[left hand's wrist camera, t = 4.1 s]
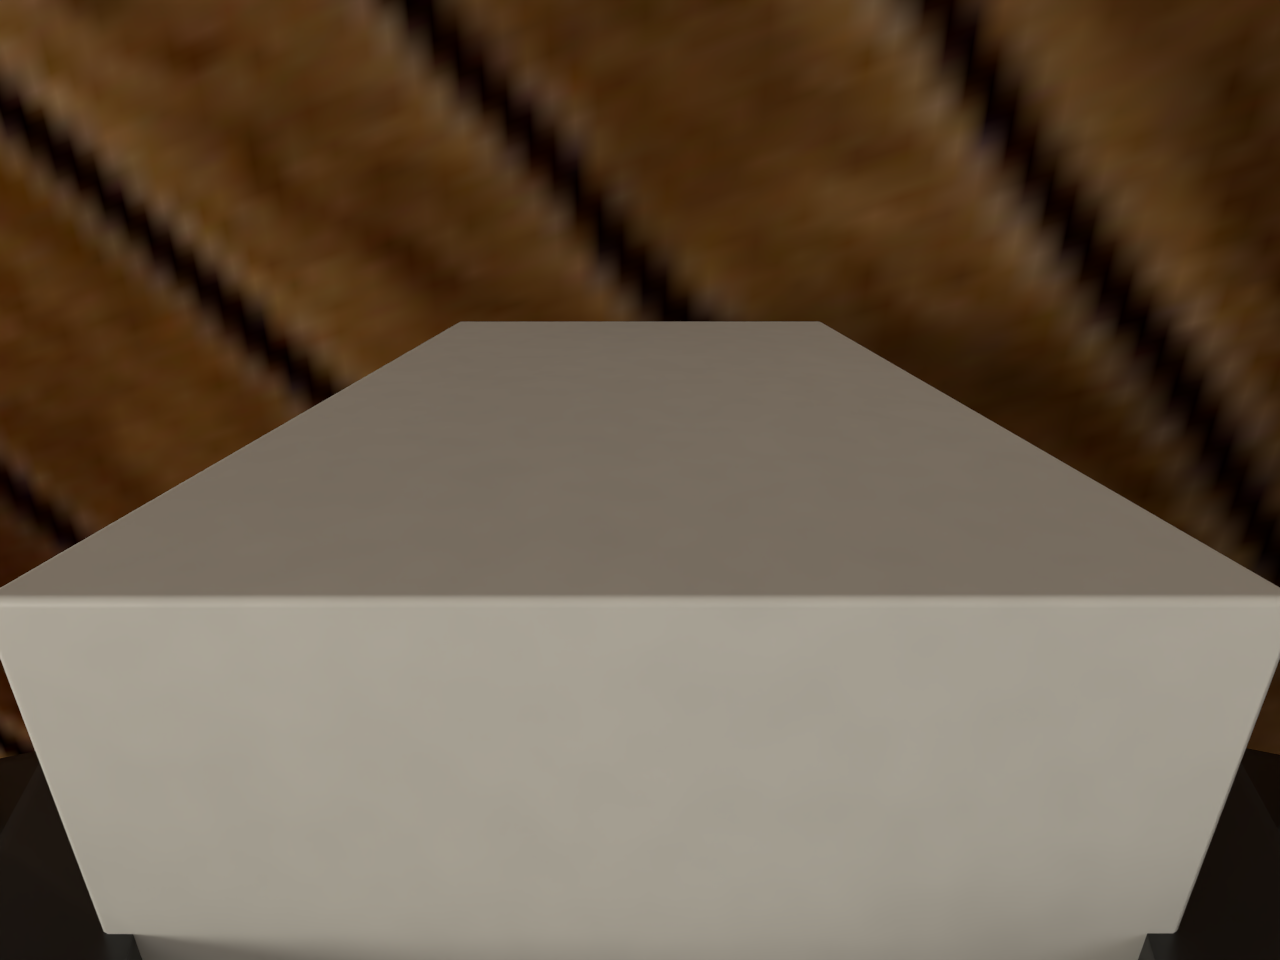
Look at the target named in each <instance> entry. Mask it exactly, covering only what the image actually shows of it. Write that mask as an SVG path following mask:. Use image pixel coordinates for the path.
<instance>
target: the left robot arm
mask: <svg viewBox="0 0 1280 960" xmlns="http://www.w3.org/2000/svg"><path fill="white" fill-rule="evenodd" d="M0 960H142V957H141V955H140V952H139V949H138V946H137V943H136V941H135V938H134V935H133V934H107V933H105V932H104V931H103V928H102V926H101V923H100V920H99V918H98V915H97V913H96V910H95V907H94V905H93V902H92V899H91V897H90V894H89V891H88V889H87V886H86V883H85V881H84V878H83V876H82V873H81V870H80V868H79V865H78V862H77V860H76V857H75V854H74V852H73V849H72V846H71V844H70V841H69V839H68V836H67V833H66V831H65V828H64V825H63V823H62V820H61V817H60V815H59V812H58V809H57V807H56V804H55V802H54V799H53V796H52V794H51V791H50V788H49V786H48V783H47V780H46V778H45V775H44V772H43V770H42V767H41V765H40V762H39V759H38V757H37V754H36V751H35V752H30V753H25V754H20V755H15V756H10V757H5V758H0ZM1138 960H1280V755H1277V754H1272V753H1267V752H1262V751H1257V750H1252V749H1247V748H1246V750H1245V752H1244V755H1243V758H1242V760H1241V763H1240V766H1239V768H1238V771H1237V773H1236V776H1235V779H1234V781H1233V784H1232V787H1231V789H1230V792H1229V795H1228V797H1227V800H1226V803H1225V805H1224V808H1223V811H1222V813H1221V816H1220V819H1219V821H1218V824H1217V826H1216V829H1215V832H1214V834H1213V837H1212V840H1211V842H1210V845H1209V848H1208V850H1207V853H1206V856H1205V858H1204V861H1203V864H1202V866H1201V869H1200V872H1199V874H1198V877H1197V879H1196V882H1195V885H1194V887H1193V890H1192V893H1191V895H1190V898H1189V901H1188V903H1187V906H1186V909H1185V911H1184V914H1183V917H1182V919H1181V922H1180V925H1179V927H1178V930H1177V931H1176V932H1174V933H1147V936H1146V938H1145V941H1144V944H1143V947H1142V950H1141V952H1140V955H1139V958H1138Z"/></svg>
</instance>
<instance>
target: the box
mask: <svg viewBox="0 0 1280 960" xmlns="http://www.w3.org/2000/svg"><path fill="white" fill-rule="evenodd" d="M0 659H1V661H2V664H3V667H4V669H5V672H6V675H7V677H8V680H9V683H10V685H11V688H12V691H13V693H14V696H15V698H16V701H17V704H18V706H19V709H20V712H21V714H22V717H23V720H24V722H25V725H26V728H27V730H28V733H29V735H30V738H31V741H32V743H33V746H34V749H35V751H36V754H37V757H38V759H39V762H40V765H41V767H42V770H43V772H44V775H45V778H46V780H47V783H48V786H49V788H50V791H51V794H52V796H53V799H54V802H55V804H56V807H57V809H58V812H59V815H60V817H61V820H62V823H63V825H64V828H65V831H66V833H67V836H68V839H69V841H70V844H71V846H72V849H73V852H74V854H75V857H76V860H77V862H78V865H79V868H80V870H81V873H82V876H83V878H84V881H85V883H86V886H87V889H88V891H89V894H90V897H91V899H92V902H93V905H94V907H95V910H96V913H97V915H98V918H99V920H100V923H101V926H102V928H103V931H104V932H105V933H107V934H133V935H134V938H135V941H136V943H137V946H138V949H139V952H140V955H141V957H142V960H1138V958H1139V955H1140V952H1141V950H1142V947H1143V944H1144V941H1145V938H1146V936H1147V933H1174V932H1176V931H1177V930H1178V927H1179V925H1180V922H1181V919H1182V917H1183V914H1184V911H1185V909H1186V906H1187V903H1188V901H1189V898H1190V895H1191V893H1192V890H1193V887H1194V885H1195V882H1196V879H1197V877H1198V874H1199V872H1200V869H1201V866H1202V864H1203V861H1204V858H1205V856H1206V853H1207V850H1208V848H1209V845H1210V842H1211V840H1212V837H1213V834H1214V832H1215V829H1216V826H1217V824H1218V821H1219V819H1220V816H1221V813H1222V811H1223V808H1224V805H1225V803H1226V800H1227V797H1228V795H1229V792H1230V789H1231V787H1232V784H1233V781H1234V779H1235V776H1236V773H1237V771H1238V768H1239V766H1240V763H1241V760H1242V758H1243V755H1244V752H1245V750H1246V747H1247V744H1248V742H1249V739H1250V736H1251V734H1252V731H1253V728H1254V726H1255V723H1256V720H1257V718H1258V715H1259V713H1260V710H1261V707H1262V705H1263V702H1264V699H1265V697H1266V694H1267V691H1268V689H1269V686H1270V683H1271V681H1272V678H1273V675H1274V673H1275V670H1276V667H1277V665H1278V662H1279V660H1280V587H1278V586H1276V585H1274V584H1273V583H1271V582H1269V581H1267V580H1266V579H1264V578H1262V577H1261V576H1259V575H1257V574H1255V573H1254V572H1252V571H1250V570H1248V569H1247V568H1245V567H1243V566H1242V565H1240V564H1238V563H1236V562H1235V561H1233V560H1231V559H1229V558H1228V557H1226V556H1224V555H1223V554H1221V553H1219V552H1217V551H1216V550H1214V549H1212V548H1210V547H1209V546H1207V545H1205V544H1203V543H1202V542H1200V541H1198V540H1197V539H1195V538H1193V537H1191V536H1190V535H1188V534H1186V533H1184V532H1183V531H1181V530H1179V529H1178V528H1176V527H1174V526H1172V525H1171V524H1169V523H1167V522H1165V521H1164V520H1162V519H1160V518H1159V517H1157V516H1155V515H1153V514H1152V513H1150V512H1148V511H1146V510H1145V509H1143V508H1141V507H1140V506H1138V505H1136V504H1134V503H1133V502H1131V501H1129V500H1127V499H1126V498H1124V497H1122V496H1120V495H1119V494H1117V493H1115V492H1114V491H1112V490H1110V489H1108V488H1107V487H1105V486H1103V485H1101V484H1100V483H1098V482H1096V481H1095V480H1093V479H1091V478H1089V477H1088V476H1086V475H1084V474H1082V473H1081V472H1079V471H1077V470H1076V469H1074V468H1072V467H1070V466H1069V465H1067V464H1065V463H1063V462H1062V461H1060V460H1058V459H1057V458H1055V457H1053V456H1051V455H1050V454H1048V453H1046V452H1044V451H1043V450H1041V449H1039V448H1037V447H1036V446H1034V445H1032V444H1031V443H1029V442H1027V441H1025V440H1024V439H1022V438H1020V437H1018V436H1017V435H1015V434H1013V433H1012V432H1010V431H1008V430H1006V429H1005V428H1003V427H1001V426H999V425H998V424H996V423H994V422H993V421H991V420H989V419H987V418H986V417H984V416H982V415H980V414H979V413H977V412H975V411H974V410H972V409H970V408H968V407H967V406H965V405H963V404H961V403H960V402H958V401H956V400H954V399H953V398H951V397H949V396H948V395H946V394H944V393H942V392H941V391H939V390H937V389H935V388H934V387H932V386H930V385H929V384H927V383H925V382H923V381H922V380H920V379H918V378H916V377H915V376H913V375H911V374H910V373H908V372H906V371H904V370H903V369H901V368H899V367H897V366H896V365H894V364H892V363H891V362H889V361H887V360H885V359H884V358H882V357H880V356H878V355H877V354H875V353H873V352H871V351H870V350H868V349H866V348H865V347H863V346H861V345H859V344H858V343H856V342H854V341H852V340H851V339H849V338H847V337H846V336H844V335H842V334H840V333H839V332H837V331H835V330H833V329H832V328H830V327H828V326H827V325H825V324H823V323H821V322H459V323H458V324H456V325H454V326H452V327H451V328H449V329H447V330H445V331H444V332H442V333H440V334H439V335H437V336H435V337H433V338H432V339H430V340H428V341H426V342H425V343H423V344H421V345H420V346H418V347H416V348H414V349H413V350H411V351H409V352H407V353H406V354H404V355H402V356H401V357H399V358H397V359H395V360H394V361H392V362H390V363H388V364H387V365H385V366H383V367H382V368H380V369H378V370H376V371H375V372H373V373H371V374H369V375H368V376H366V377H364V378H363V379H361V380H359V381H357V382H356V383H354V384H352V385H350V386H349V387H347V388H345V389H344V390H342V391H340V392H338V393H337V394H335V395H333V396H331V397H330V398H328V399H326V400H324V401H323V402H321V403H319V404H318V405H316V406H314V407H312V408H311V409H309V410H307V411H305V412H304V413H302V414H300V415H299V416H297V417H295V418H293V419H292V420H290V421H288V422H286V423H285V424H283V425H281V426H280V427H278V428H276V429H274V430H273V431H271V432H269V433H267V434H266V435H264V436H262V437H261V438H259V439H257V440H255V441H254V442H252V443H250V444H248V445H247V446H245V447H243V448H242V449H240V450H238V451H236V452H235V453H233V454H231V455H229V456H228V457H226V458H224V459H223V460H221V461H219V462H217V463H216V464H214V465H212V466H210V467H209V468H207V469H205V470H204V471H202V472H200V473H198V474H197V475H195V476H193V477H191V478H190V479H188V480H186V481H185V482H183V483H181V484H179V485H178V486H176V487H174V488H172V489H171V490H169V491H167V492H166V493H164V494H162V495H160V496H159V497H157V498H155V499H153V500H152V501H150V502H148V503H147V504H145V505H143V506H141V507H140V508H138V509H136V510H134V511H133V512H131V513H129V514H127V515H126V516H124V517H122V518H121V519H119V520H117V521H115V522H114V523H112V524H110V525H108V526H107V527H105V528H103V529H102V530H100V531H98V532H96V533H95V534H93V535H91V536H89V537H88V538H86V539H84V540H83V541H81V542H79V543H77V544H76V545H74V546H72V547H70V548H69V549H67V550H65V551H64V552H62V553H60V554H58V555H57V556H55V557H53V558H51V559H50V560H48V561H46V562H45V563H43V564H41V565H39V566H38V567H36V568H34V569H32V570H31V571H29V572H27V573H26V574H24V575H22V576H20V577H19V578H17V579H15V580H13V581H12V582H10V583H8V584H7V585H5V586H3V587H1V588H0Z"/></svg>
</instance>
